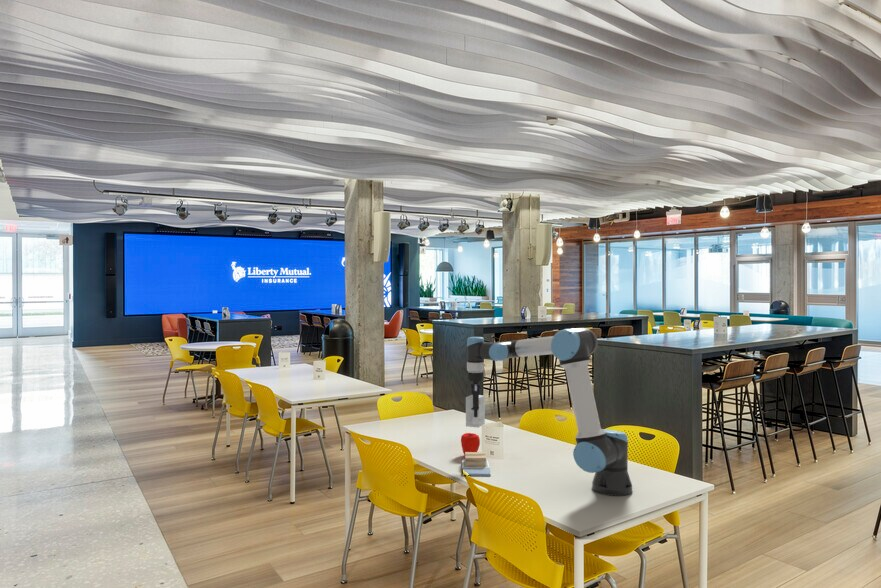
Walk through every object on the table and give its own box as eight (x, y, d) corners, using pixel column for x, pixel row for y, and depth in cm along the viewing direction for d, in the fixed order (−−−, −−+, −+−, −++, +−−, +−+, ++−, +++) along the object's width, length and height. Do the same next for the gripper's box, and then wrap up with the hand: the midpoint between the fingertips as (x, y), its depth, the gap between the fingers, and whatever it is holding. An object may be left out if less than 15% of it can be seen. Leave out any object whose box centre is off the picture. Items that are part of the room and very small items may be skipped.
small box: (471, 422, 266) (471, 394, 266) (485, 424, 263) (485, 395, 263) (465, 426, 258) (465, 397, 258) (478, 427, 256) (478, 398, 256)
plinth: (485, 467, 256) (485, 457, 256) (465, 466, 256) (465, 457, 256) (485, 461, 265) (485, 452, 265) (465, 460, 265) (465, 452, 265)
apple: (483, 455, 278) (483, 432, 278) (473, 459, 271) (473, 436, 271) (467, 452, 283) (467, 430, 283) (457, 456, 276) (457, 433, 276)
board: (490, 476, 246) (490, 473, 246) (462, 475, 247) (462, 473, 247) (488, 462, 266) (488, 459, 266) (461, 462, 267) (461, 459, 267)
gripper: (484, 375, 249) (484, 427, 249) (482, 368, 272) (482, 416, 272) (467, 375, 250) (467, 427, 250) (466, 368, 272) (466, 416, 272)
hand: (475, 421), depth 261 cm, fingers closed on small box, 10 cm apart
